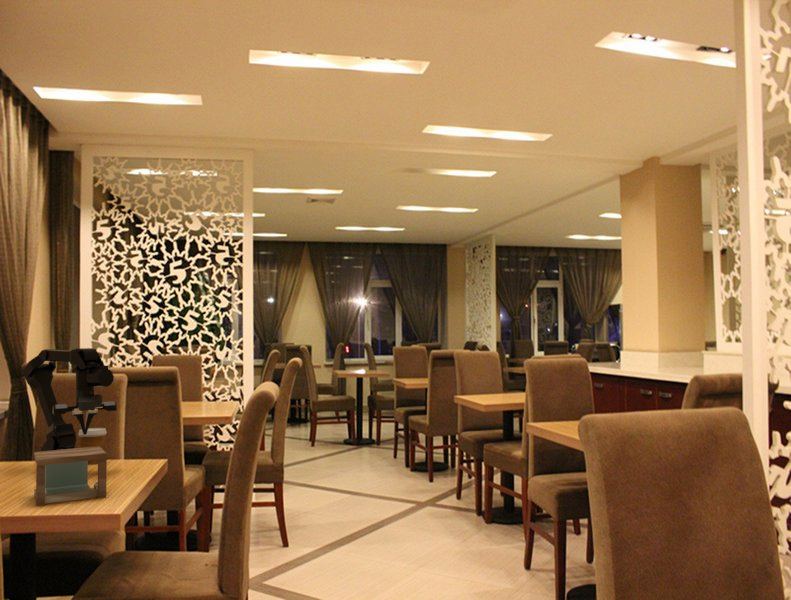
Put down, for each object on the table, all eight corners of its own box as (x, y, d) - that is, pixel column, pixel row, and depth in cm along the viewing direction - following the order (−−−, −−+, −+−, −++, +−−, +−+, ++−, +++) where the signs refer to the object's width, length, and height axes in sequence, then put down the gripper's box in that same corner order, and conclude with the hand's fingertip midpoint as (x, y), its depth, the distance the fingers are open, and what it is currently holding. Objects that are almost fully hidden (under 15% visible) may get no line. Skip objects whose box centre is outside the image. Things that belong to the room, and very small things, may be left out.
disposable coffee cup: (79, 466, 232) (79, 431, 233) (76, 462, 240) (76, 429, 241) (108, 463, 237) (109, 429, 238) (104, 459, 245) (104, 427, 246)
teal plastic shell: (45, 492, 191) (45, 461, 192) (87, 487, 197) (87, 457, 197) (48, 502, 179) (48, 468, 180) (92, 496, 185) (92, 463, 185)
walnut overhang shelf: (33, 495, 188) (34, 452, 188) (99, 487, 196) (99, 446, 197) (36, 506, 174) (37, 459, 175) (106, 497, 183) (106, 453, 183)
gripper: (55, 389, 207) (54, 439, 206) (119, 386, 216) (119, 434, 215) (52, 387, 216) (52, 436, 215) (114, 384, 226) (114, 431, 225)
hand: (84, 434), depth 217 cm, fingers closed
